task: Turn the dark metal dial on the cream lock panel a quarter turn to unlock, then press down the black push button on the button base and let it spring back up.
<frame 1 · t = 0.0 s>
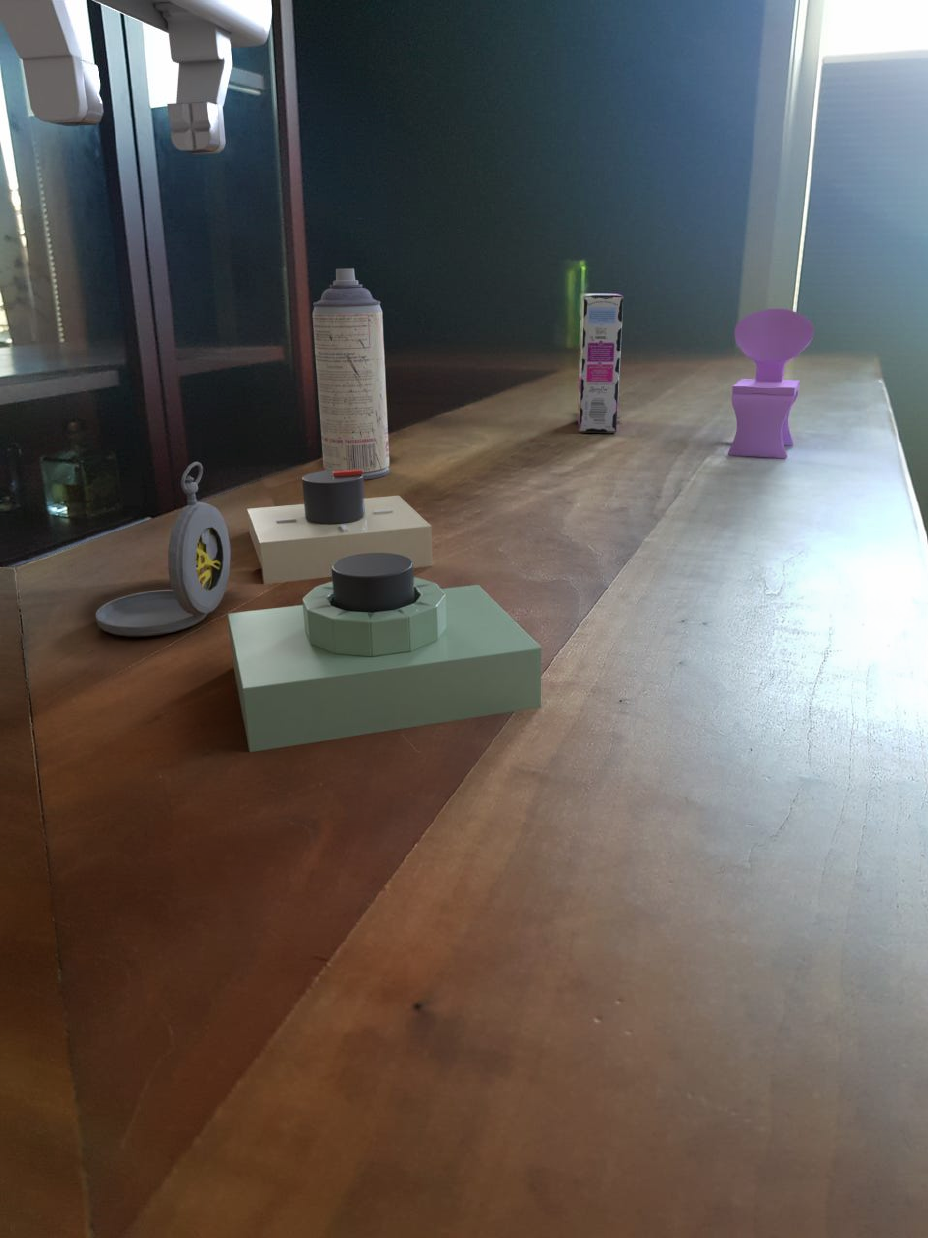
hand: (142, 139, 36), 25 cm above the worktop, tool pointing down, fingers open, 8 cm apart
candy bar box: (597, 428, 123), on the worktop
dial panel: (338, 555, 71), on the worktop
aerosol can: (357, 474, 99), on the worktop
button base: (379, 687, 49), on the worktop
black push button: (373, 583, 47), point 6 cm above the worktop, slide at 0.1 cm
pocket watch: (172, 627, 58), on the worktop
toy chair: (760, 451, 106), on the worktop
dial: (333, 494, 69), point 5 cm above the worktop, hinge at 0.0°
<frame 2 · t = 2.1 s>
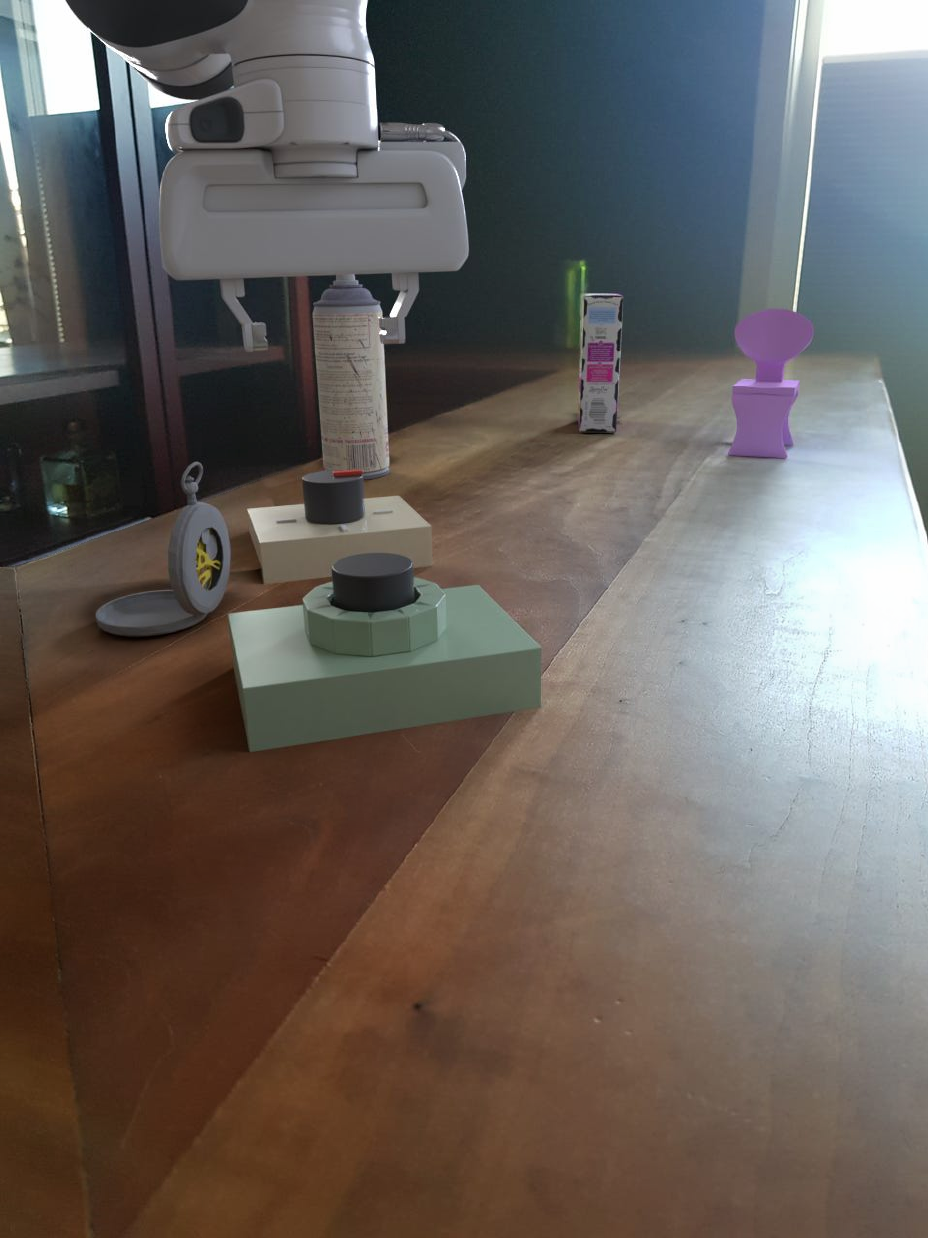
hand: (325, 347, 65), 15 cm above the worktop, tool pointing down, fingers open, 8 cm apart
nothing on the worktop moved.
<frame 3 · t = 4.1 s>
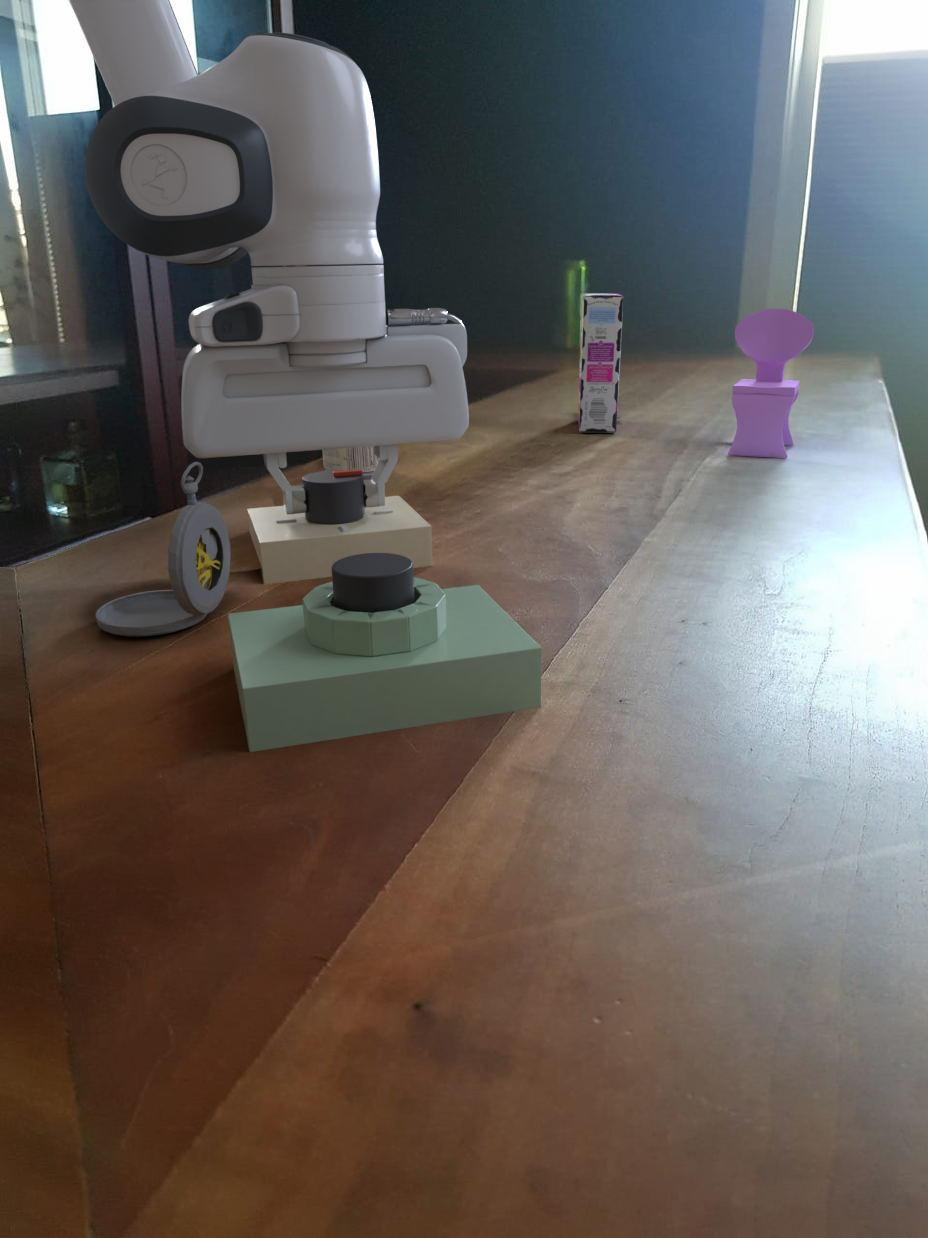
hand: (334, 508, 70), 4 cm above the worktop, tool pointing down, fingers closed on dial, 4 cm apart
dial: (333, 494, 69), point 5 cm above the worktop, hinge at 0.0°, touching gripper
everything else where it was.
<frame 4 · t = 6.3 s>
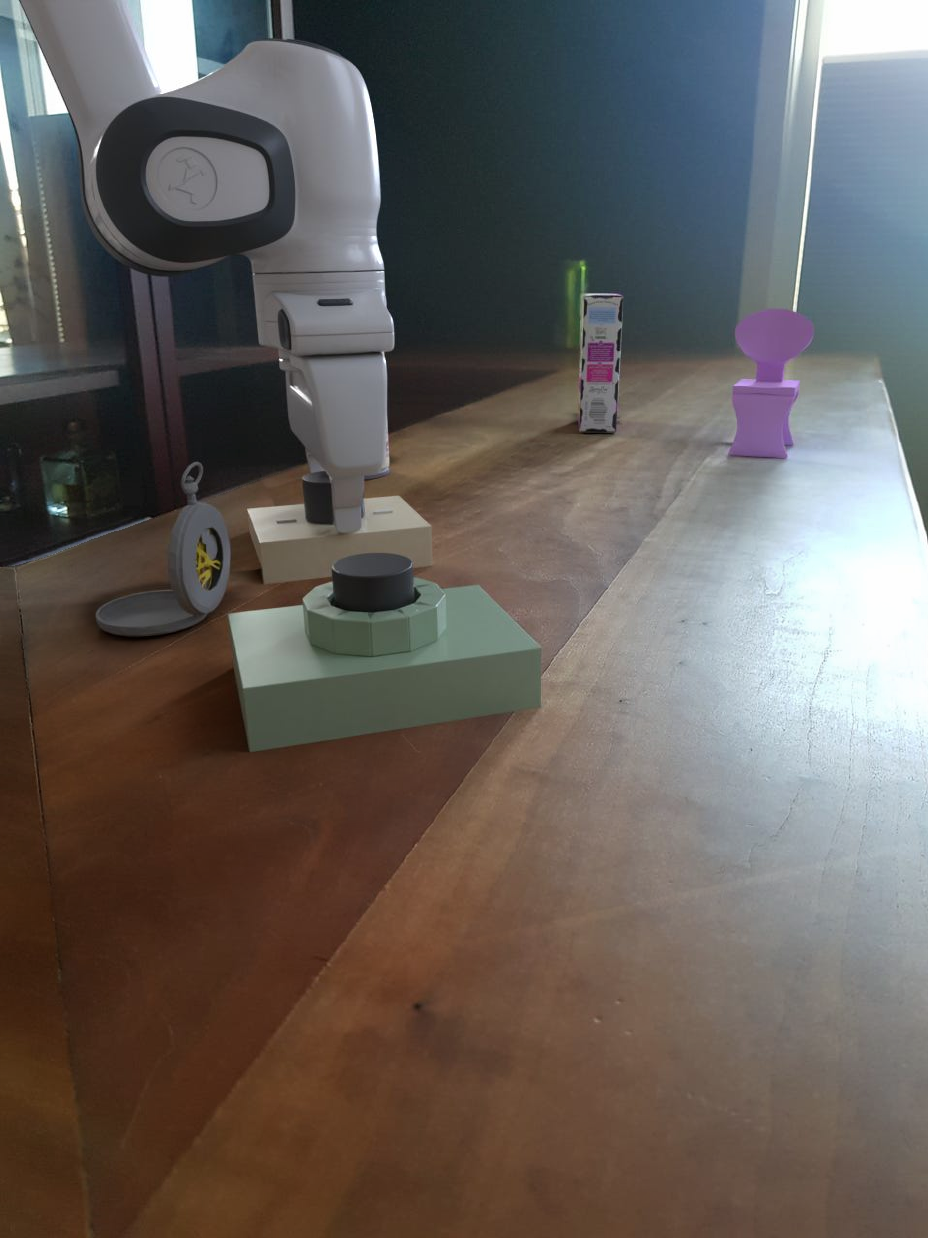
hand: (335, 513, 70), 3 cm above the worktop, tool pointing down, fingers open, 8 cm apart
dial: (333, 494, 69), point 5 cm above the worktop, hinge at 82.9°
everything else where it was.
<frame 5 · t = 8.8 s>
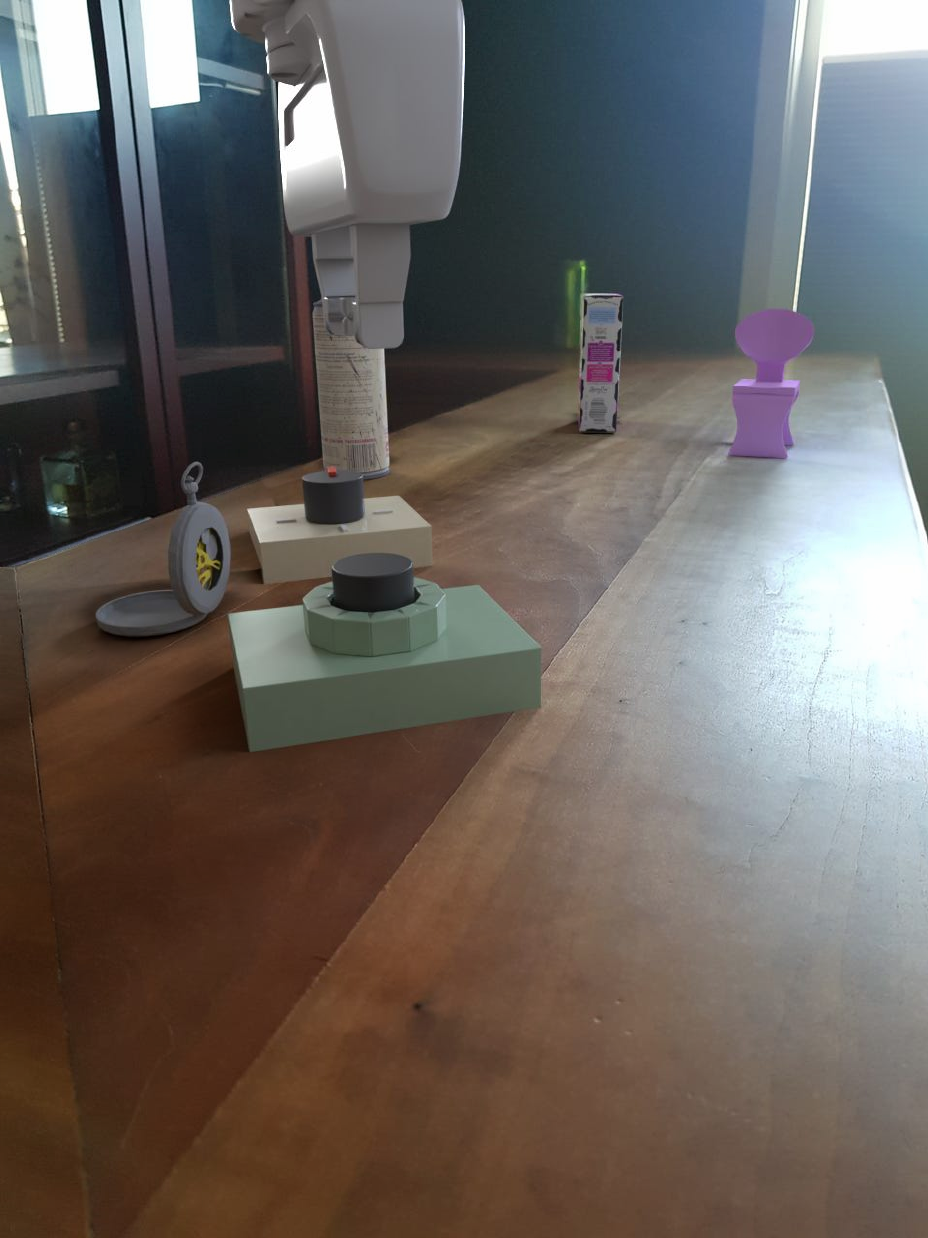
hand: (360, 340, 43), 17 cm above the worktop, tool pointing down, fingers open, 7 cm apart
nothing on the worktop moved.
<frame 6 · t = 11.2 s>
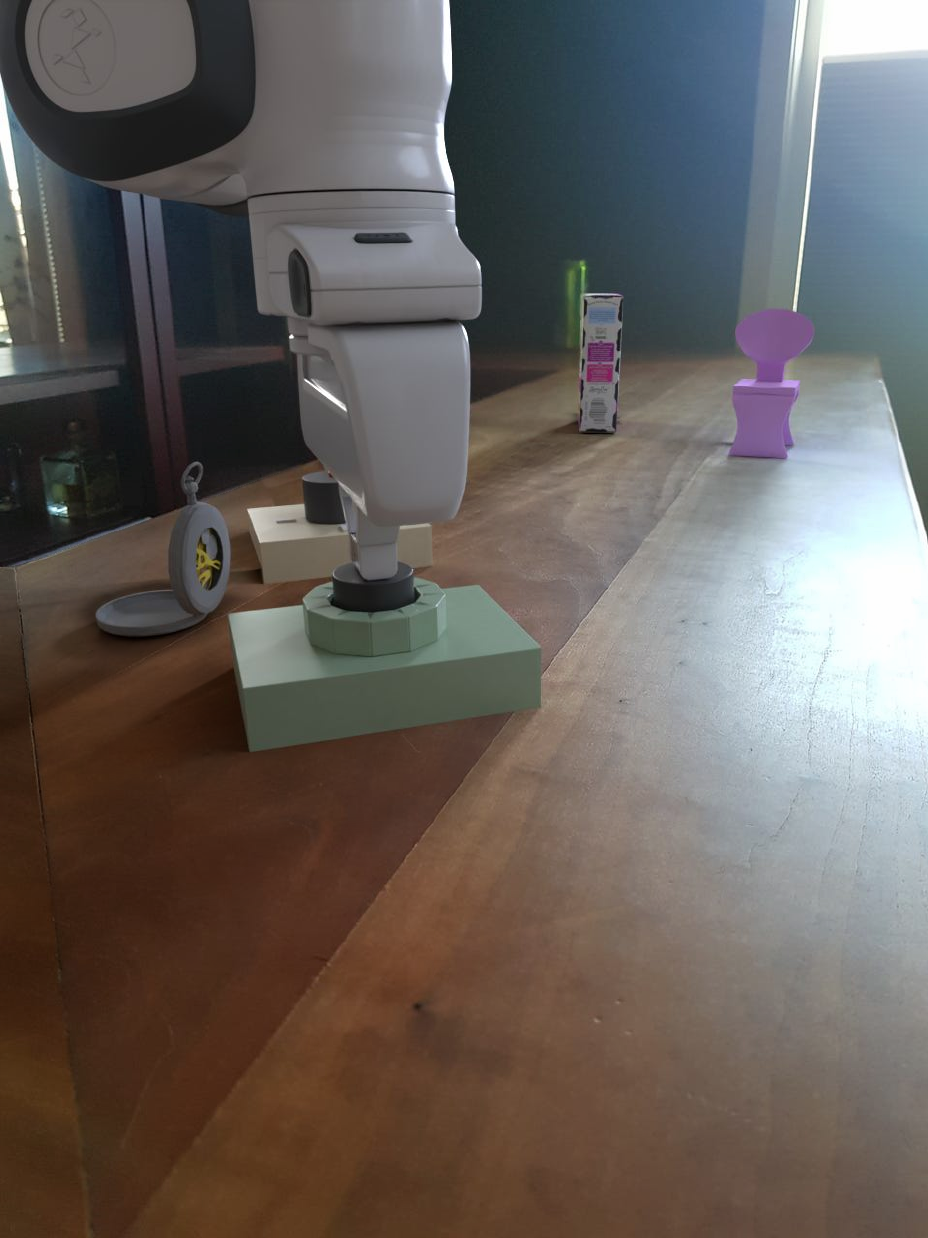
hand: (373, 571, 46), 6 cm above the worktop, tool pointing down, fingers closed, pressing on black push button
black push button: (373, 590, 47), point 5 cm above the worktop, slide at -0.3 cm, touching gripper
everything else where it was.
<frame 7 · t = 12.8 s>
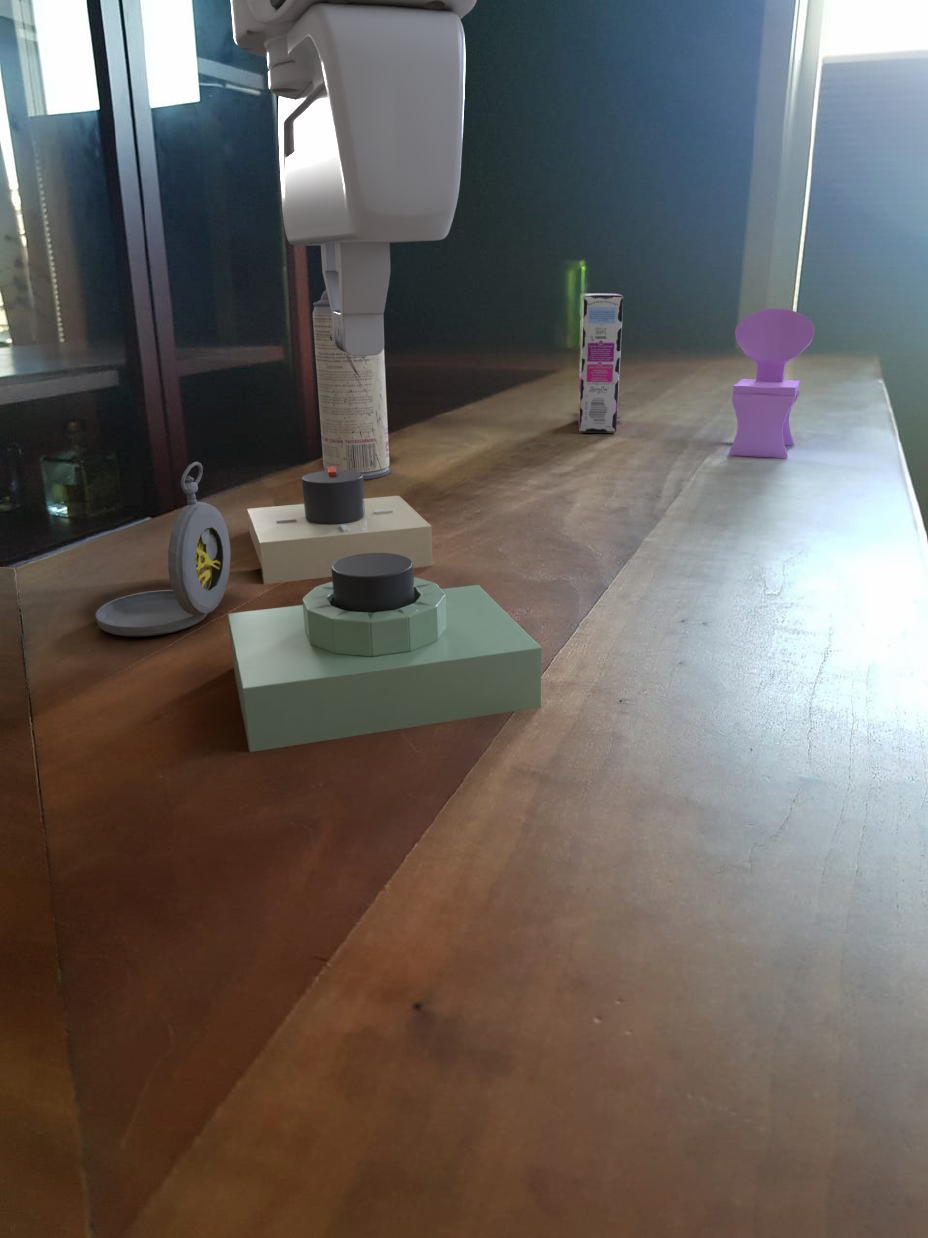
hand: (358, 353, 43), 17 cm above the worktop, tool pointing down, fingers closed
black push button: (373, 583, 47), point 6 cm above the worktop, slide at 0.1 cm
everything else where it was.
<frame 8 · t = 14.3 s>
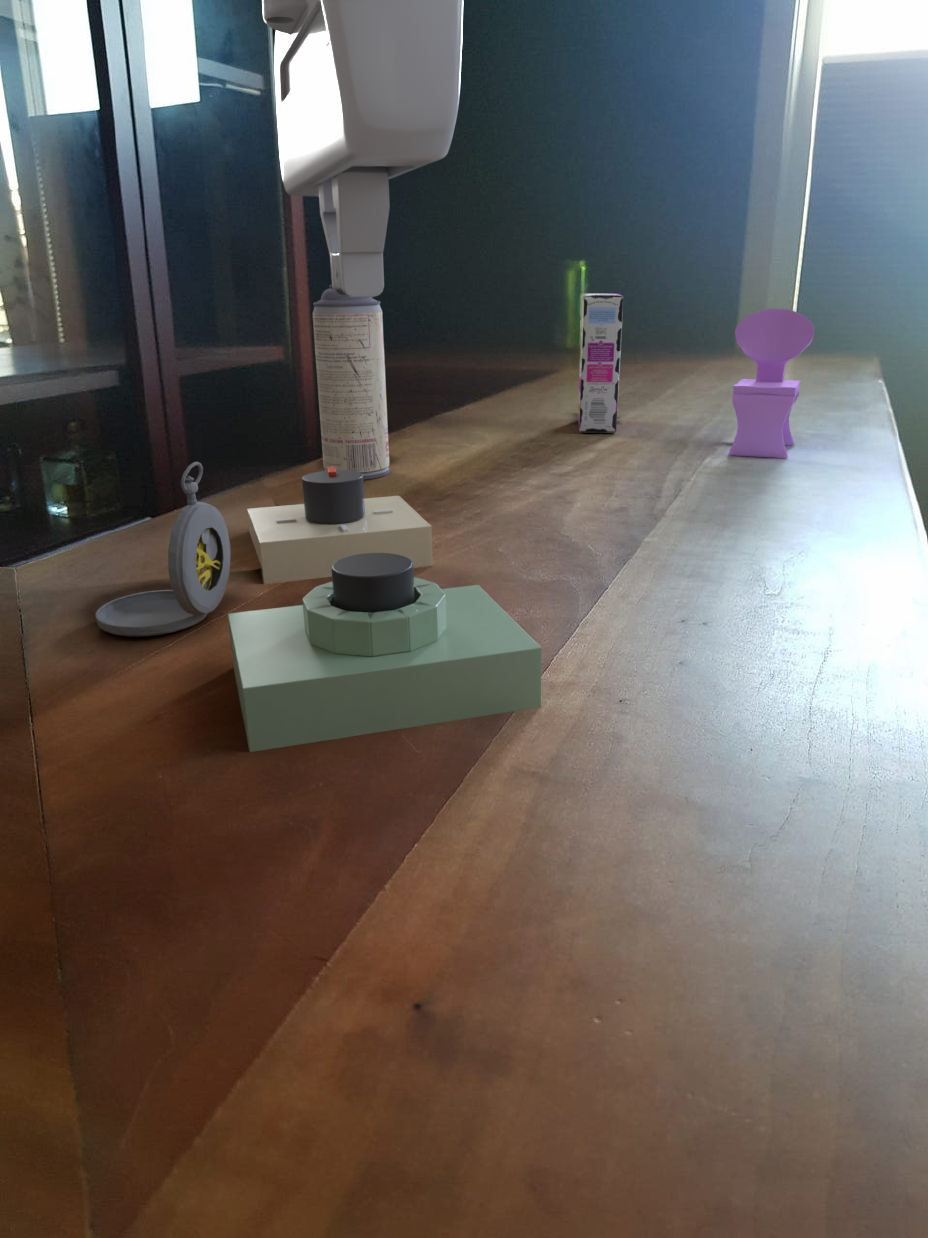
hand: (358, 296, 42), 19 cm above the worktop, tool pointing down, fingers closed
nothing on the worktop moved.
at the end: dial at +83° (first picture: +0°); black push button pushed in 1.0 cm at the most during the clip, back to where it started at the end; black push button slide at 0.1 cm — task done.
